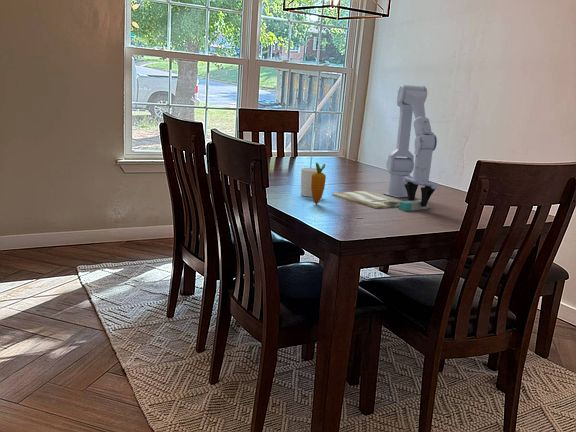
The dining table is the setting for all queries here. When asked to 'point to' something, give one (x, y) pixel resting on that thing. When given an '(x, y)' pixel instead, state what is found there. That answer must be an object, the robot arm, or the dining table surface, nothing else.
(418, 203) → the eraser
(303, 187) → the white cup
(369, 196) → the cream rectangular tray
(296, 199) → the dining table surface
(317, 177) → the carrot
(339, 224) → the dining table surface
